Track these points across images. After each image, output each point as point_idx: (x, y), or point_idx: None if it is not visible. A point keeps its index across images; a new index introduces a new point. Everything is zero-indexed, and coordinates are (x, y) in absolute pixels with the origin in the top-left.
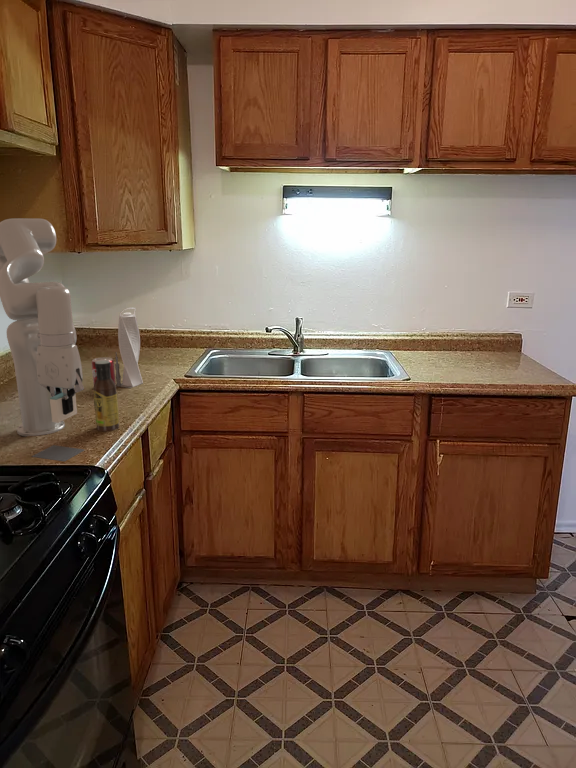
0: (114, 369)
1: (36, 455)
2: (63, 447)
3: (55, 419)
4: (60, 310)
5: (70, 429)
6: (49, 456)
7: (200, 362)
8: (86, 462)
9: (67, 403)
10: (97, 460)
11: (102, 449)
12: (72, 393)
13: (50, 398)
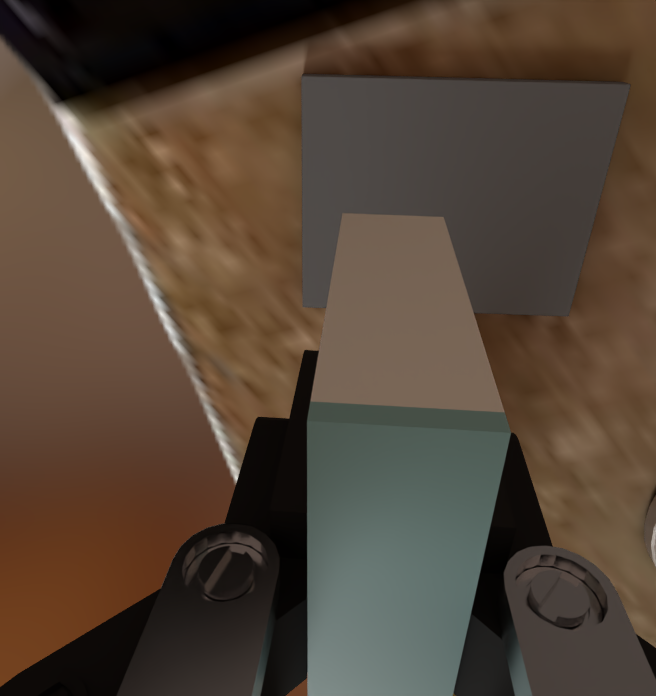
0: None
1: (595, 115)
2: (473, 299)
3: (386, 228)
4: None
5: (603, 540)
6: (478, 127)
7: None
8: (171, 145)
9: (255, 485)
10: (128, 199)
11: (231, 357)
12: (41, 667)
13: (487, 424)
